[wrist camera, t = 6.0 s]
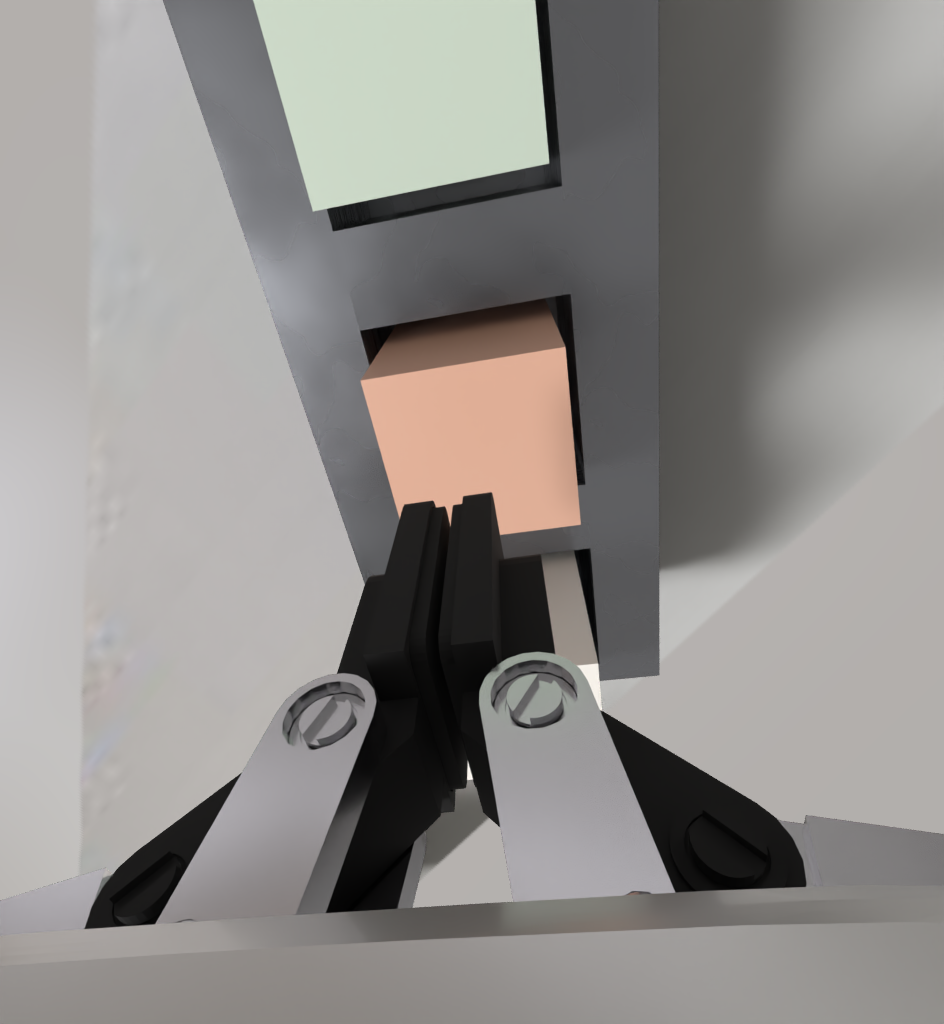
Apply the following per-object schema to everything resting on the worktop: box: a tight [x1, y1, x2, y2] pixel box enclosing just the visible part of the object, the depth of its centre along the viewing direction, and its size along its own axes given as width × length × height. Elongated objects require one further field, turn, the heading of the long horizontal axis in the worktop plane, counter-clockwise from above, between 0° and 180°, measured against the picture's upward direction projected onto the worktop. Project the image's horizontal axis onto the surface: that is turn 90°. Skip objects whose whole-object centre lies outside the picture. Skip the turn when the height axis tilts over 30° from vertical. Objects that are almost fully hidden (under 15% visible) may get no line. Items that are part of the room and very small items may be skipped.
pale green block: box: [253, 0, 549, 211], centre depth 12 cm, size 5×5×6 cm
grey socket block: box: [163, 0, 659, 681], centre depth 18 cm, size 23×10×6 cm, turn 10°
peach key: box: [360, 298, 581, 535], centre depth 16 cm, size 5×5×6 cm
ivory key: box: [467, 550, 602, 780], centre depth 19 cm, size 5×5×6 cm
